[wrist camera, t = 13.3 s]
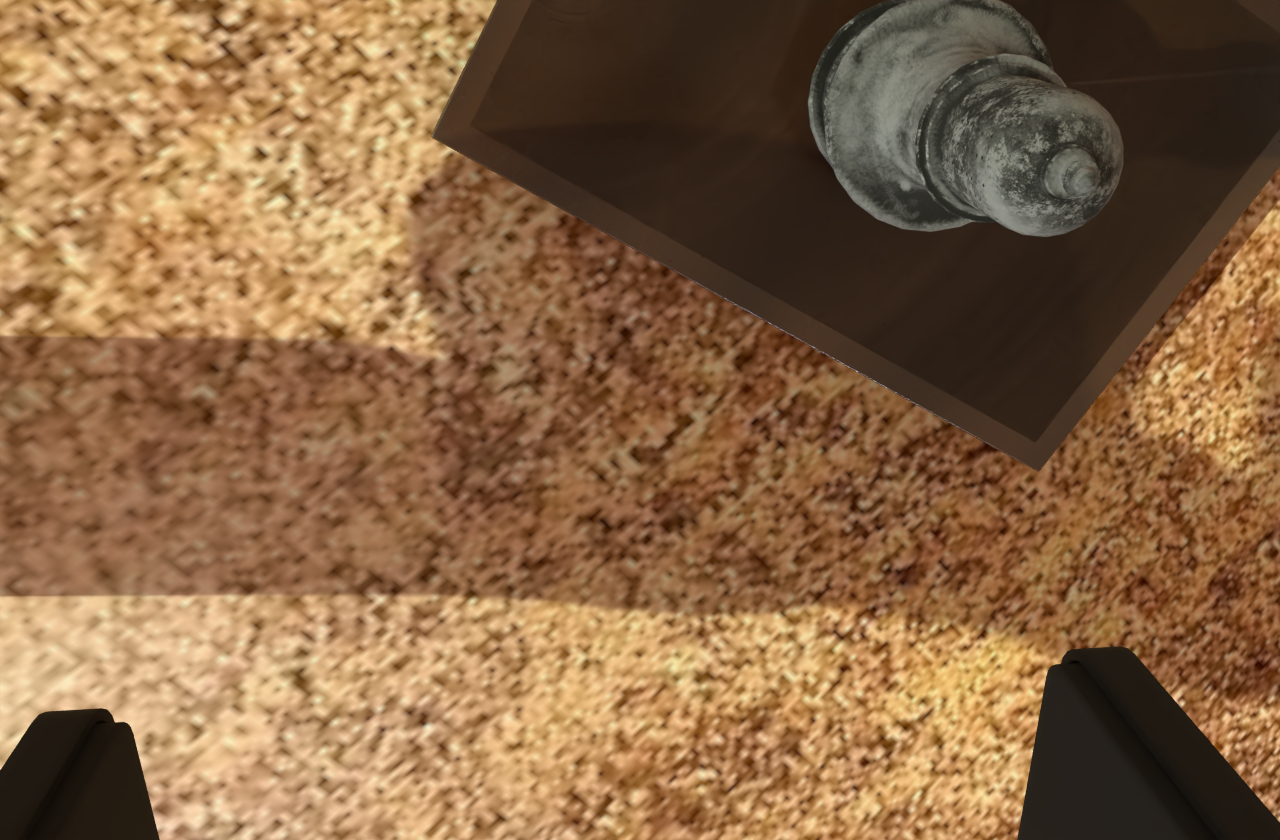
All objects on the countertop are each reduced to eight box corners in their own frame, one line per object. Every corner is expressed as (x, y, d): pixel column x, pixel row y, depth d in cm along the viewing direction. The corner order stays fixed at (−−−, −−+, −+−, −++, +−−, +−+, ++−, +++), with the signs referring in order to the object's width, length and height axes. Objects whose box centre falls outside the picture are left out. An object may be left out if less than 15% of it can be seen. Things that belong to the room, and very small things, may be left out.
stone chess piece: (951, -60, 28) (1191, -68, 17) (1036, 131, 30) (1298, 232, 19) (759, 63, 29) (871, 130, 18) (855, 240, 31) (1007, 394, 20)
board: (436, 128, 31) (430, 137, 30) (703, -416, 26) (710, -437, 25) (1021, 453, 36) (1039, 473, 35) (1333, 52, 31) (1367, 57, 30)
